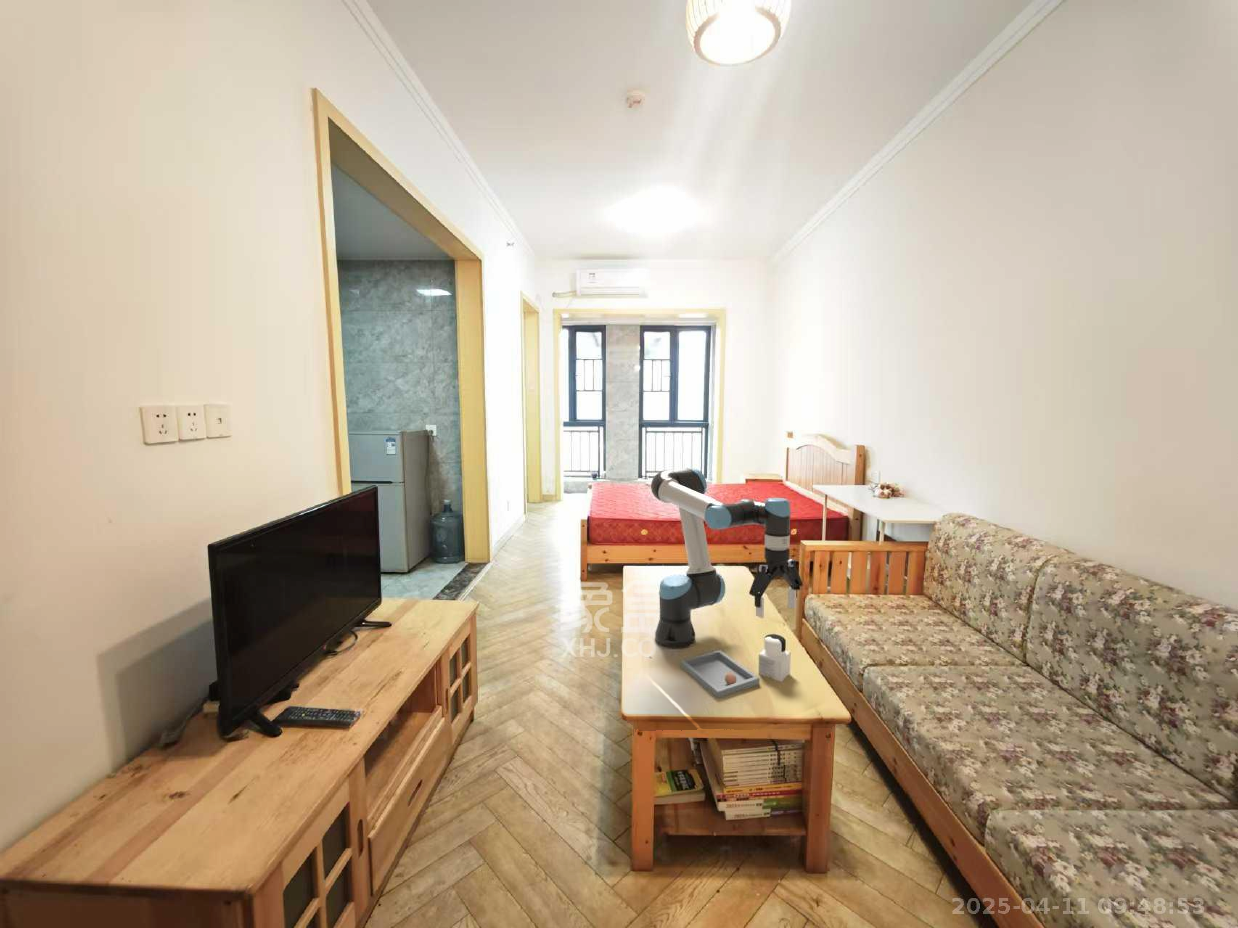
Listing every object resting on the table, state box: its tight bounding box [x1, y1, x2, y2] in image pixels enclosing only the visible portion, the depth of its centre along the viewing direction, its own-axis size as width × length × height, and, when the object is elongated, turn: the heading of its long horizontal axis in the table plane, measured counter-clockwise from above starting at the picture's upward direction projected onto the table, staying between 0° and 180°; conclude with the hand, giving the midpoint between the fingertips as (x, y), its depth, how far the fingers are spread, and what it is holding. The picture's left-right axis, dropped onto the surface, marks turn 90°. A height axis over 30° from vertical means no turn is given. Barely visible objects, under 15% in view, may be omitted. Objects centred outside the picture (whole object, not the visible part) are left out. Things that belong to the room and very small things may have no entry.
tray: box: [680, 649, 760, 699], centre depth 153 cm, size 20×16×3 cm
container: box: [758, 633, 791, 682], centre depth 154 cm, size 8×8×13 cm
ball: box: [725, 673, 736, 685], centre depth 148 cm, size 4×4×4 cm
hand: (776, 612), depth 152 cm, fingers open, 13 cm apart
